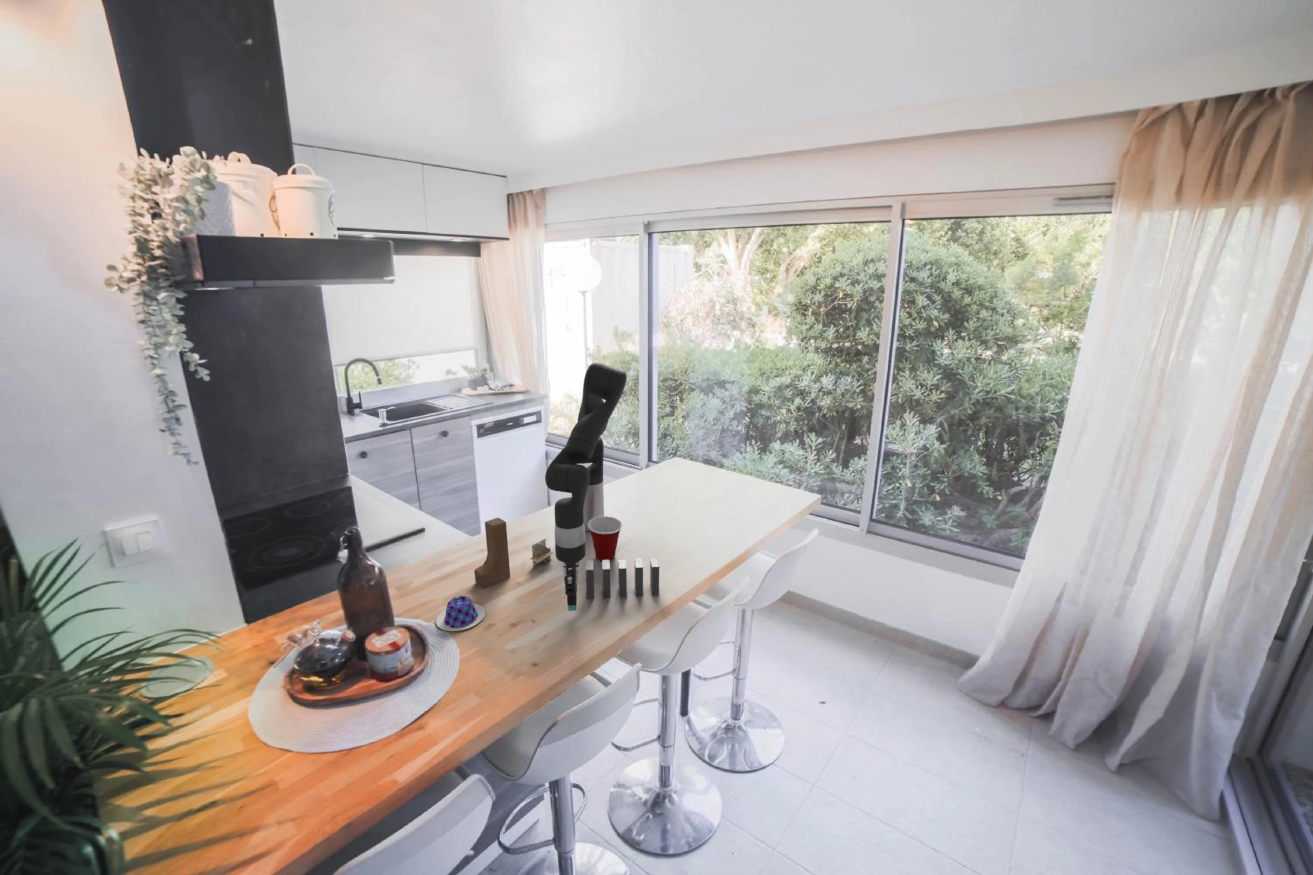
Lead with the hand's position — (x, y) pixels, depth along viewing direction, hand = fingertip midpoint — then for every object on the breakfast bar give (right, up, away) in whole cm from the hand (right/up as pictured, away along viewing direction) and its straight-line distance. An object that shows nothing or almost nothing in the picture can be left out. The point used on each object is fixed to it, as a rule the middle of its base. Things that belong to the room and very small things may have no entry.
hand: (572, 598), depth 138 cm
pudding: (-29, -6, 0) cm, 29 cm away
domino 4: (+12, -2, +12) cm, 17 cm away
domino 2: (+3, -2, +11) cm, 12 cm away
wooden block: (-26, 0, +18) cm, 31 cm away
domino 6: (+21, -2, +13) cm, 25 cm away
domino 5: (+17, -2, +13) cm, 21 cm away
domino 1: (0, -2, +1) cm, 2 cm away
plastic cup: (+6, +3, +31) cm, 32 cm away
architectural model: (-14, +2, +28) cm, 31 cm away
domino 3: (+8, -2, +12) cm, 14 cm away
